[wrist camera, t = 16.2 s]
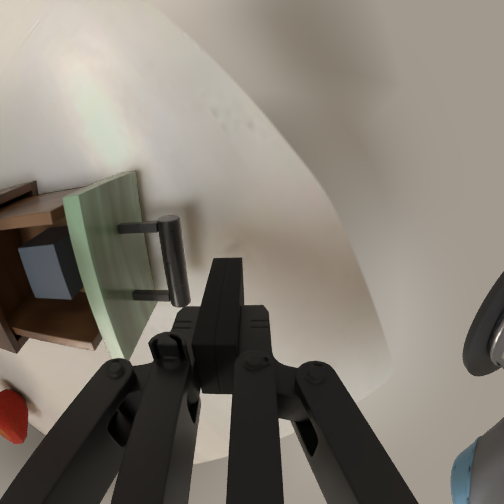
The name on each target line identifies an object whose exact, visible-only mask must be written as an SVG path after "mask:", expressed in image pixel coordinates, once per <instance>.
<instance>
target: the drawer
mask: <svg viewBox="0 0 504 504" xmlns="http://www.w3.org/2000/svg"><path fill="white" fill-rule="evenodd" d="M61 226H68V230H69V234H70V238H71V243H72V247H73V251H74V255H75V258H76V262H77V266H78V269H79V273H80V276H81V279H82V283H83V286H84V287H83V288H82V289H81V290H80V291H79V292H78V293H77V294H76V296H75V297H74V298H73V299H72V300H69V299H48V298H35V295H34V293H33V290H32V288H31V285H30V283H29V280H28V277H27V275H26V272H25V269H24V266H23V263H22V260H21V257H20V254H19V251H18V248H19V247H20V246H22V245H23V244H25V243H26V242H28V241H29V240H31V239H32V238H34V237H35V236H37V235H38V234H40V233H42V232H43V231H45V230H46V229H48V228H54V227H61ZM158 231H159V237H160V244H161V250H162V256H163V262H164V268H165V274H166V279H167V285H168V290H155V289H154V285H153V280H152V275H151V270H150V265H149V260H148V254H147V249H146V243H145V237H144V233H154V232H158ZM170 300H171V304H172V305H173V306H174V307H184V306H187V305H188V304H189V303H190V302H191V298H190V292H189V285H188V278H187V272H186V264H185V257H184V249H183V241H182V233H181V224H180V217H179V216H176V215H168V216H163V217H161V218H159V219H158V220H157V221H145V222H142V218H141V211H140V203H139V195H138V187H137V178H136V171H129V172H122V173H119V174H117V175H114V176H112V177H109V178H106V179H104V180H101V181H99V182H96V183H94V184H91V185H89V186H87V187H83V188H77V189H71V190H65V191H59V192H54V193H48V194H43V195H38V196H33V197H28V198H24V199H19V200H15V201H12V202H10V203H8V204H6V205H3V206H1V207H0V307H1V309H2V312H3V314H4V316H5V318H6V320H7V322H8V324H9V327H10V329H11V331H12V333H13V334H17V335H21V336H25V337H29V338H33V339H37V340H41V341H46V342H50V343H55V344H60V345H65V346H70V347H76V348H81V349H87V350H93V351H95V350H96V348H97V347H98V345H99V343H100V342H101V340H102V338H103V341H104V343H105V346H106V348H107V350H108V353H109V355H110V357H111V359H115V358H123V359H126V360H128V361H129V360H130V357H131V355H132V353H133V351H134V349H135V347H136V345H137V342H138V340H139V338H140V336H141V334H142V332H143V330H144V328H145V326H146V324H147V322H148V320H149V318H150V316H151V314H152V312H153V310H154V308H155V306H156V304H157V301H168V302H169V301H170Z"/></svg>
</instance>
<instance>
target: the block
mask: <svg viewBox="0 0 504 504" xmlns="http://www.w3.org/2000/svg"><path fill="white" fill-rule="evenodd" d="M18 251H19V254H20V257H21V260H22V263H23V266H24V269H25V272H26V275H27V277H28V280H29V283H30V285H31V288H32V290H33V293H34V295H35V298H48V299H69V300H72V299H73V298H74V297H75V296H76V294H77V293H78V292H79V291H80V290H81V289H82V288H83V287H84V286H83V283H82V279H81V276H80V273H79V269H78V266H77V262H76V258H75V255H74V251H73V247H72V243H71V238H70V234H69V230H68V226H61V227H54V228H48V229H46V230H45V231H43V232H42V233H40V234H38V235H37V236H35V237H34V238H32V239H31V240H29V241H28V242H26V243H25V244H23V245H22V246H20V247H19V248H18Z"/></svg>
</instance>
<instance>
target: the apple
mask: <svg viewBox="0 0 504 504" xmlns="http://www.w3.org/2000/svg"><path fill="white" fill-rule="evenodd" d="M27 428H28V408H27V405H26V402H25V400H24V399H23V398H22V397H21V396H20V395H19V394H18V393H17V392H16V391H14V390H8V389H6V390H3V391H1V392H0V434H1V435H2V436H3V437H5V438H6V439H7V440H9V441H11V442H12V443H14V444H21V443H23V442H24V441H25V439H26V437H27Z"/></svg>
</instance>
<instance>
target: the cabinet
mask: <svg viewBox="0 0 504 504" xmlns="http://www.w3.org/2000/svg"><path fill="white" fill-rule="evenodd" d="M33 196H38V192H37V185H36V181H32V182H29V183H25V184H21V185H17V186H14V187H10V188H7V189H3V190H0V207H1V206H3V205H6V204H8V203H10V202H12V201H15V200H19V199H24V198H28V197H33ZM28 339H29V337H25V336H21V335H17V334H13V333H12V331H11V329H10V327H9V324H8V322H7V320H6V318H5V316H4V314H3V312H2V309H1V307H0V348H2V349H5V350H7V351H10V352H13V353H16V354H17V353H18V352H19V350H20V349H21V348H22V346H23V345H24V344H25V343H26V341H27V340H28Z"/></svg>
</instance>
